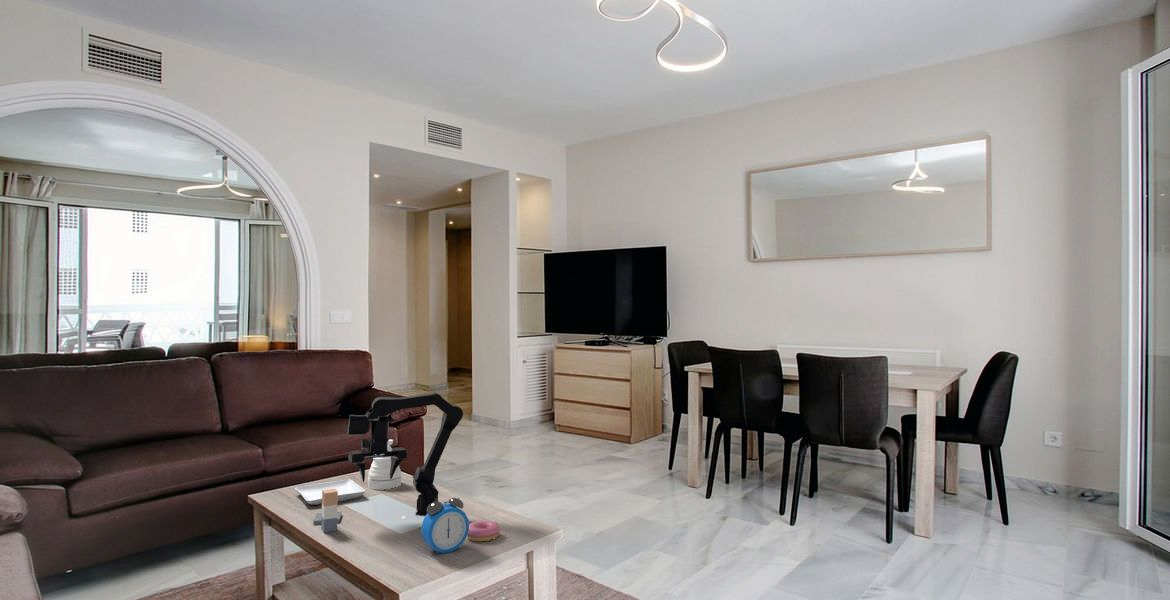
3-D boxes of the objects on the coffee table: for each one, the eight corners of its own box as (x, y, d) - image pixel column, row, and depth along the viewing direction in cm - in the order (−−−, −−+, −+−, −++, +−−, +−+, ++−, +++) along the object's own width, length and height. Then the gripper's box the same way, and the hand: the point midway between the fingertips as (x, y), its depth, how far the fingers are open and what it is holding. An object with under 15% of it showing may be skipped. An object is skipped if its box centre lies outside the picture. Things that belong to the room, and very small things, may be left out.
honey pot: (393, 479, 263) (394, 436, 263) (406, 486, 253) (407, 441, 253) (363, 484, 254) (363, 440, 255) (375, 491, 245) (376, 445, 245)
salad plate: (293, 495, 240) (293, 486, 240) (350, 486, 252) (350, 477, 252) (306, 510, 223) (307, 500, 223) (367, 499, 235) (367, 490, 235)
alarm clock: (428, 558, 181) (429, 506, 181) (419, 551, 186) (420, 501, 186) (469, 548, 189) (470, 498, 189) (460, 542, 194) (461, 493, 194)
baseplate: (341, 515, 217) (341, 511, 217) (339, 522, 209) (339, 519, 209) (316, 516, 215) (316, 513, 215) (313, 524, 207) (313, 521, 207)
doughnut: (490, 545, 192) (490, 532, 192) (458, 541, 195) (458, 527, 195) (505, 533, 202) (505, 520, 202) (475, 529, 206) (475, 516, 206)
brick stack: (334, 526, 205) (335, 488, 206) (336, 530, 202) (337, 491, 202) (321, 529, 203) (322, 490, 203) (323, 532, 200) (324, 493, 200)
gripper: (399, 428, 226) (397, 471, 226) (345, 432, 216) (343, 477, 216) (409, 434, 217) (406, 479, 217) (353, 438, 207) (350, 485, 206)
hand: (377, 480), depth 214 cm, fingers open, 9 cm apart
